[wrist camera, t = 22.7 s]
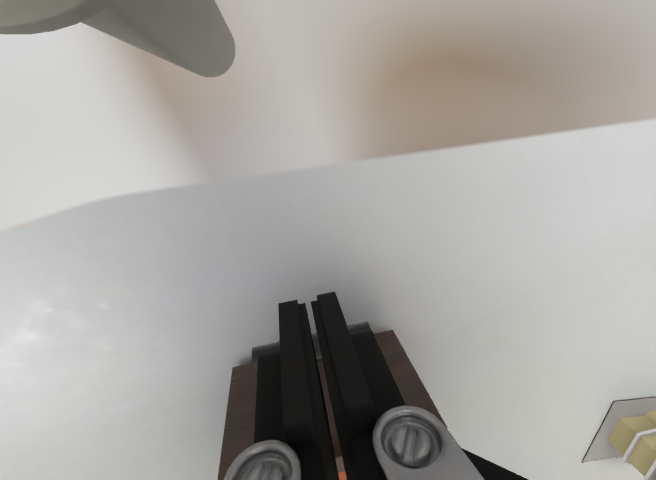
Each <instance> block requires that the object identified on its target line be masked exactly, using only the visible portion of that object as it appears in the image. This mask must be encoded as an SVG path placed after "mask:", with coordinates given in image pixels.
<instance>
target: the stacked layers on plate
mask: <svg viewBox="0 0 656 480" xmlns="http://www.w3.org/2000/svg"><path fill="white" fill-rule="evenodd" d="M617 457H623V458H622V461H623V462H624V463H631V464H632V465H633V466H634V467H635V468H636V469H637V470H638V471H639V472H640V473H641V474H643V475H644V476H645V477H644V478H643V480H656V397H654V398H644V399H635V400H626V401H616V402H614V403H613V405H612V407H611V409H610V411H609V413H608V415H607V417H606V419H605V421H604V422H603V424H602V426H601V428H600V430H599V432H598V434H597V436H596V438H595V440H594V441H593V443H592V445H591V447H590V449H589V451H588V453H587V455H586V457H585V459H584V460H583V462H589V461H596V460H603V459H610V458H617Z"/></svg>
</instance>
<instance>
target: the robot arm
mask: <svg viewBox="0 0 656 480" xmlns="http://www.w3.org/2000/svg"><path fill="white" fill-rule="evenodd" d="M317 299H318V300H317V301H312V302H311V305H312V310H313V315H314V320H315V325H316V330H317V335H318V340H319V345H320V351H321V356H322V361H323V366H324V371H325V376H326V380H327V385H328V390H329V395H330V400H331V405H332V410H333V415H334V420H335V424H336V429H337V434H338V439H339V444H340V449H341V454H342V459H343V463H344V468H345V473H346V478H347V480H528V479H526V478H524V477H522V476H519V475H517V474H515V473H513V472H511V471H509V470H507V469H505V468H502V467H500V466H498V465H496V464H494V463H492V462H490V461H488V460H485V459H483V458H481V457H479V456H477V455H475V454H473V453H471V452H468V451H466V450H464V449H462V448H461V447H460V446H459V445H458V443H457V442H456V441H455V439H454V438H453V437H452V435H451V434H450V433H449V431H448V430H447V428H446V427H445V426H444V424H443V423H442V422H441V421H440V420H439V419H438V418H437V417H436V416H435V415H433V414H432V413H430V412H428V411H427V410H425V409H422V408H418V407H415V406H406V404H405V402H404V400H403V397H402V395H401V393H400V391H399V389H398V387H397V384H396V382H395V380H394V378H393V376H392V373H391V371H390V369H389V367H388V365H387V362H386V360H385V358H384V356H383V354H382V352H381V349H380V347H379V345H378V343H377V341H376V338H375V336H374V334H373V332H372V331H371V330H367V331H362V332H358V333H354V334H350V333H349V330H348V328H347V325H346V322H345V319H344V316H343V313H342V310H341V308H340V305H339V302H338V299H337V296H336V293H335V292H330V293H326V294H321V295H317ZM279 330H280V351H275V352H271V353H266V354H262V355H259V357H258V370H257V389H256V408H255V427H254V445H252V446H250V447H248V448H247V449H245V450H244V451H243V452H242V453H241V454H240V455H239V456H237V457H236V459H235V460H234V461H233V463H232V464H231V466H230V467H229V468H228V470H227V473H226V475H225V478H224V480H339V475H338V469H337V464H336V458H335V453H334V448H333V442H332V437H331V431H330V426H329V421H328V415H327V410H326V404H325V399H324V394H323V388H322V383H321V378H320V373H319V368H318V363H317V358H316V353H315V349H314V344H313V339H312V334H311V329H310V324H309V320H308V315H307V310H306V305H305V303H303V304H298V302H297V300H293V301H289V302H284V303H279Z"/></svg>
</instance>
